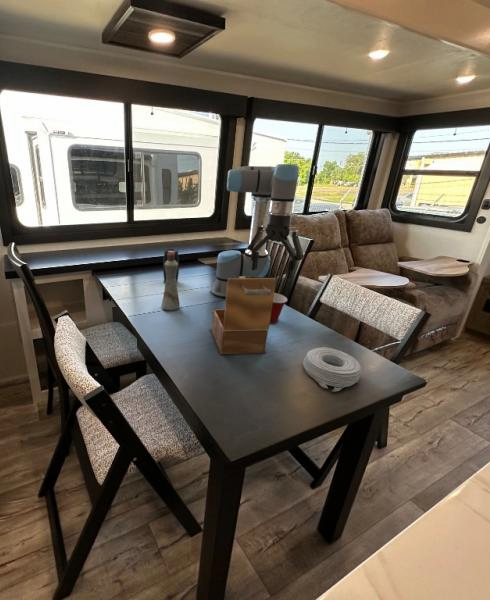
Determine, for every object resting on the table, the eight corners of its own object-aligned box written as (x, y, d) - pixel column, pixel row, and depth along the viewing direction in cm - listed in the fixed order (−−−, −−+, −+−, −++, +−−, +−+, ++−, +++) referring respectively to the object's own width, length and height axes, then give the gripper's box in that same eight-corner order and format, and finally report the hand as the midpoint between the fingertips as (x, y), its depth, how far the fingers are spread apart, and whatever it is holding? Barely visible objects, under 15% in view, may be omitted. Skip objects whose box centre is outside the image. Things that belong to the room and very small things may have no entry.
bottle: (157, 307, 152) (157, 251, 141) (170, 302, 158) (171, 248, 147) (170, 313, 146) (171, 255, 135) (183, 307, 152) (184, 251, 141)
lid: (227, 278, 104) (233, 286, 97) (275, 277, 105) (284, 285, 98) (223, 329, 111) (228, 340, 104) (267, 328, 113) (275, 339, 106)
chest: (211, 330, 132) (212, 309, 128) (249, 329, 133) (251, 308, 130) (221, 354, 115) (223, 331, 111) (264, 353, 116) (268, 330, 113)
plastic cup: (284, 327, 136) (289, 302, 131) (259, 324, 138) (263, 299, 133) (282, 316, 146) (286, 293, 141) (258, 314, 147) (261, 290, 143)
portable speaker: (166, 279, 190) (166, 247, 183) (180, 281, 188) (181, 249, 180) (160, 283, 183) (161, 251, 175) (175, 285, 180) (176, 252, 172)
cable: (331, 396, 95) (335, 380, 92) (290, 365, 110) (293, 350, 107) (370, 382, 101) (375, 367, 99) (327, 354, 116) (330, 340, 114)
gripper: (242, 210, 110) (236, 268, 118) (313, 219, 95) (301, 284, 103) (252, 209, 115) (245, 264, 123) (321, 217, 100) (309, 279, 108)
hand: (271, 273), depth 113 cm, fingers open, 13 cm apart
